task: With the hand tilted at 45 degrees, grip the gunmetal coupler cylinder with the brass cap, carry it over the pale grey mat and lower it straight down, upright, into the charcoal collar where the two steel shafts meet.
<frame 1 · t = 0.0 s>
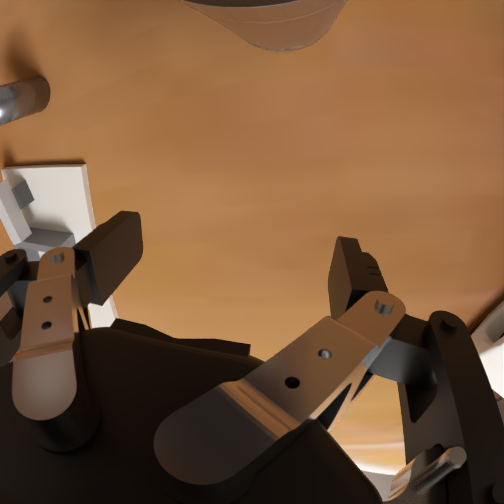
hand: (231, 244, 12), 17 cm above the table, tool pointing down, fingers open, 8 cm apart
shaft rig: (60, 255, 38), on the table
coupler: (38, 94, 25), on the table
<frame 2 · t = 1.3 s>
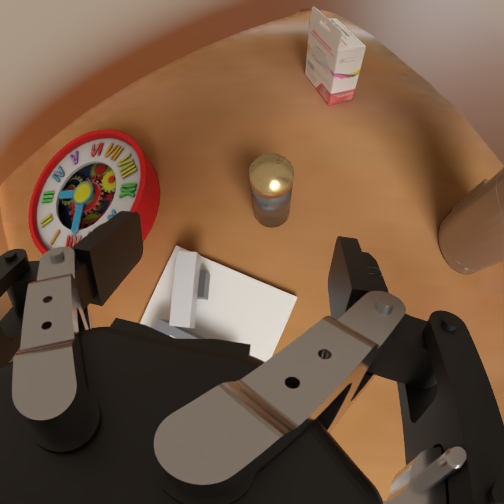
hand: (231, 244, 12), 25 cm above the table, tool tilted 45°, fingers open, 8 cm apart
ink cartridge box: (328, 87, 45), on the table
toy clock: (100, 207, 42), on the table
shaft rig: (189, 372, 35), on the table
coupler: (271, 211, 39), on the table
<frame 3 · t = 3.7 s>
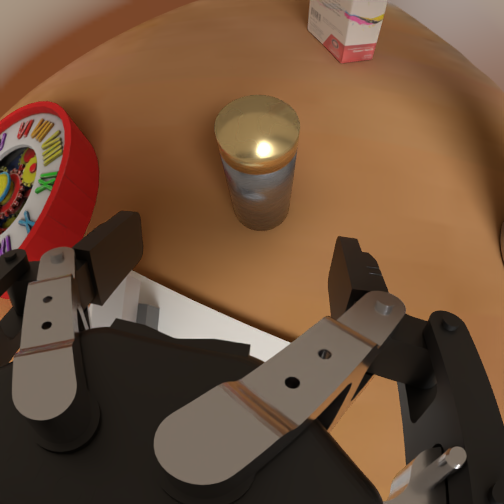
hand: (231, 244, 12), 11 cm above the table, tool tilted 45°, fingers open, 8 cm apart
ink cartridge box: (338, 44, 31), on the table
toy clock: (27, 208, 27), on the table
shaft rig: (135, 452, 19), on the table
coupler: (261, 204, 25), on the table
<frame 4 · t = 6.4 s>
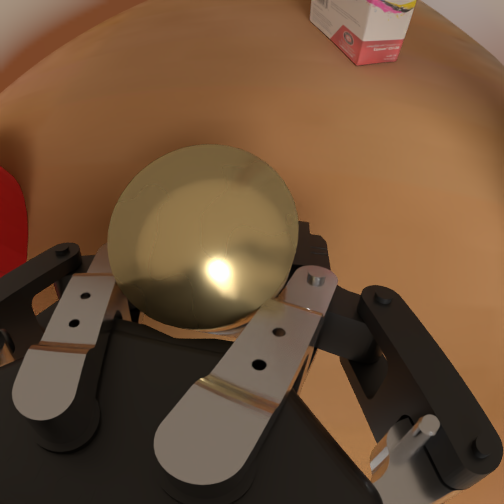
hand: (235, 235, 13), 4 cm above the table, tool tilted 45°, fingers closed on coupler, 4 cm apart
ink cartridge box: (351, 40, 23), on the table
coupler: (238, 295, 16), on the table, touching gripper
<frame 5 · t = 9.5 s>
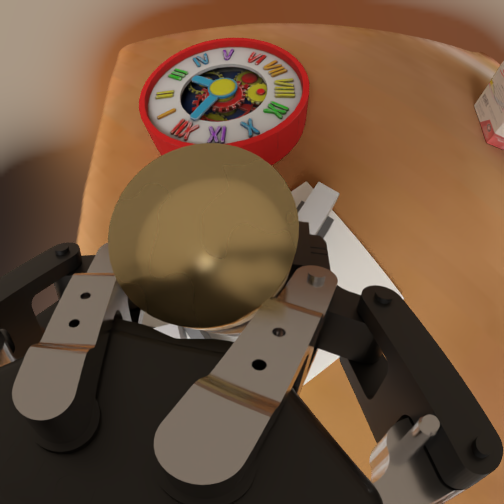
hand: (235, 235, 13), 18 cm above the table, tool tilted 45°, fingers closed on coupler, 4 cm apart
ink cartridge box: (489, 128, 35), on the table
toy clock: (227, 115, 37), on the table
shaft rig: (249, 321, 29), on the table
coupler: (238, 295, 16), point 14 cm above the table, touching gripper
when the fingers open (7 cm above the table, at t = 13.1 s): coupler drops 2 cm, resting on shaft rig.
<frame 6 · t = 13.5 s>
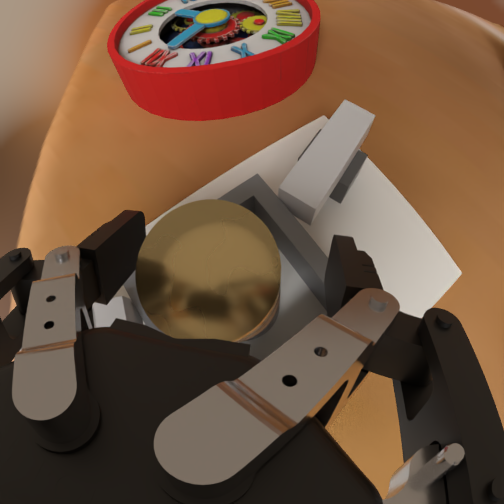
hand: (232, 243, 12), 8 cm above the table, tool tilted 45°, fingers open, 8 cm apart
toy clock: (218, 55, 27), on the table
shaft rig: (242, 304, 20), on the table
coupler: (243, 304, 18), point 1 cm above the table, touching shaft rig
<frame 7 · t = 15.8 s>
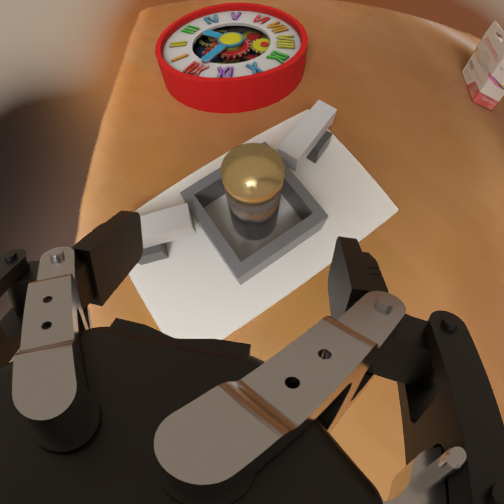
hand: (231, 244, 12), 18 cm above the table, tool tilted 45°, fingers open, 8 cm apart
ink cartridge box: (476, 91, 38), on the table
toy clock: (233, 66, 38), on the table
shaft rig: (253, 221, 31), on the table
coupler: (254, 218, 30), point 1 cm above the table, touching shaft rig
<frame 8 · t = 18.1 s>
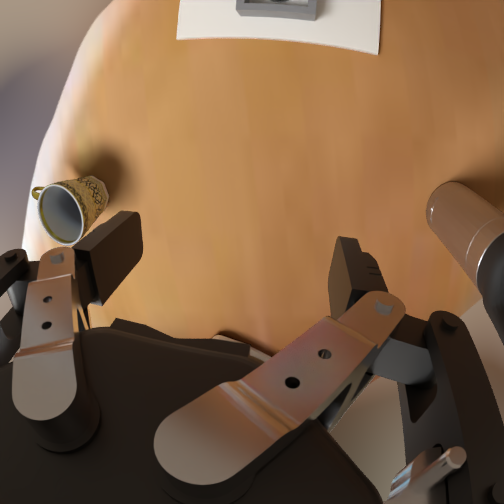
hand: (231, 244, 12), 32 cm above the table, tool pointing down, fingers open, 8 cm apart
ceramic cup: (88, 189, 48), on the table
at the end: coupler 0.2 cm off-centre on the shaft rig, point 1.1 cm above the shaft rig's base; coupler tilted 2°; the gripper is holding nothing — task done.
